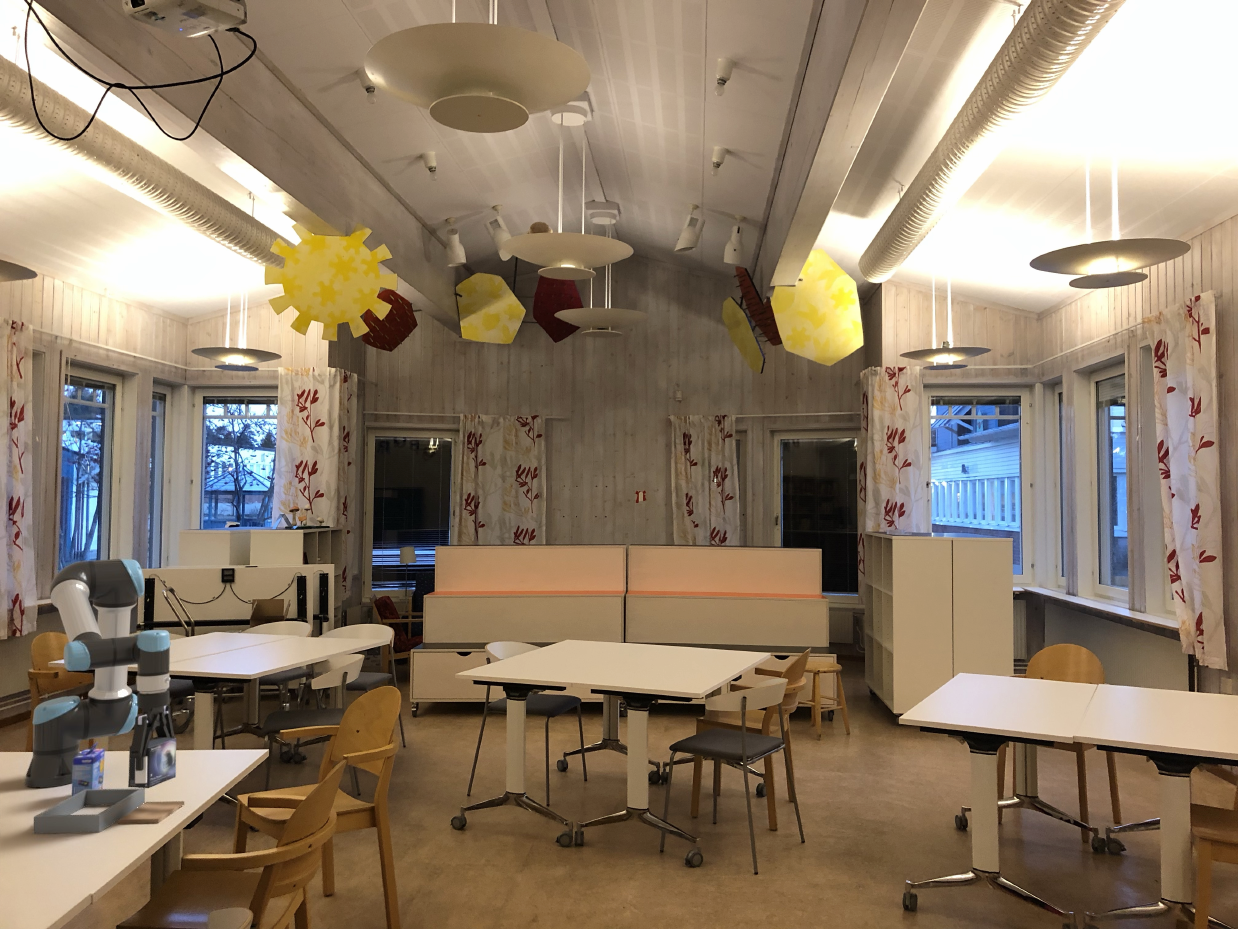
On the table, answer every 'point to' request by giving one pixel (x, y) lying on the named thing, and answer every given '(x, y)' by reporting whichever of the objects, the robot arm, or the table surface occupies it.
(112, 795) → the bin
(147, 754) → the small box
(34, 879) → the table surface
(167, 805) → the board
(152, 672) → the robot arm
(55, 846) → the table surface
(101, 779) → the ink cartridge box
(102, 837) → the table surface
